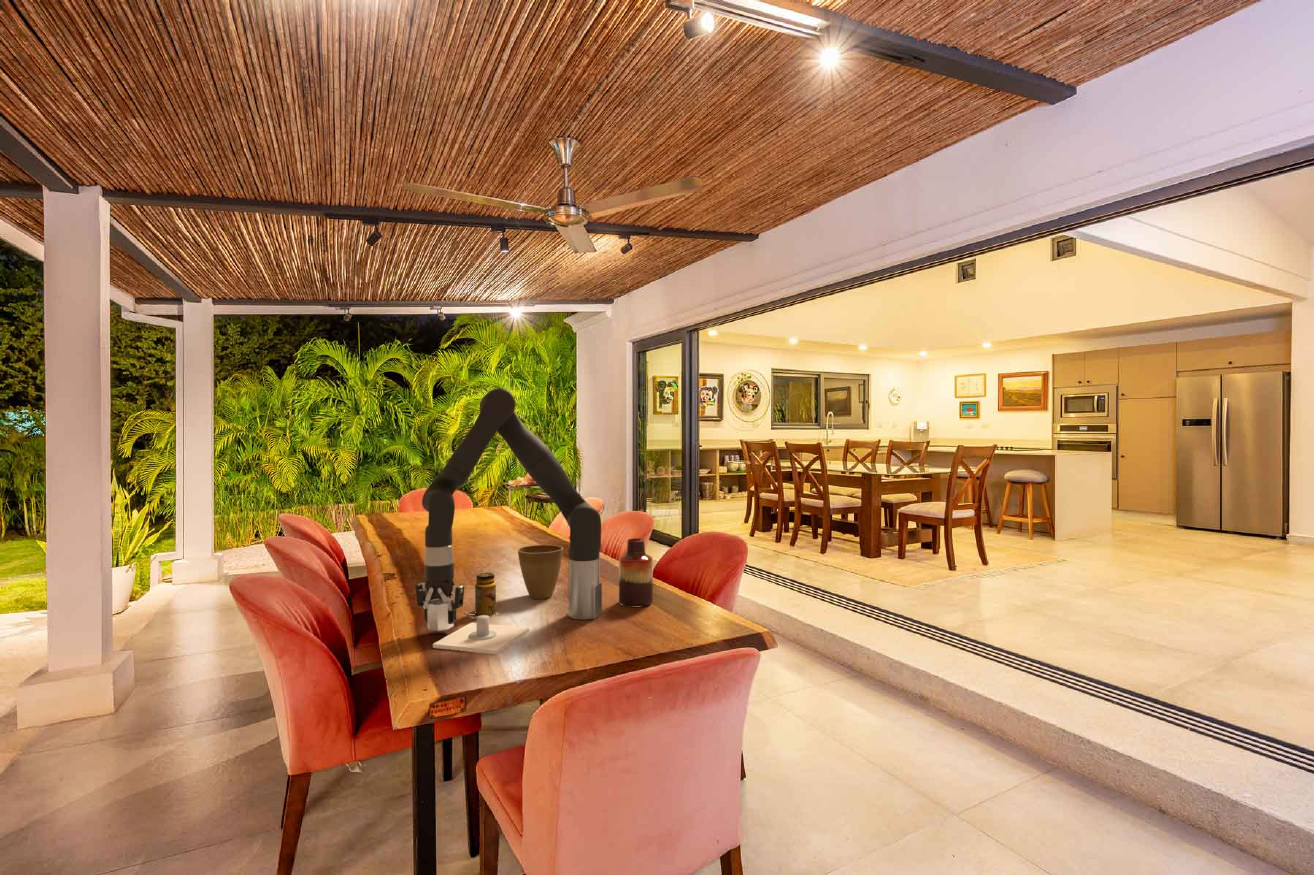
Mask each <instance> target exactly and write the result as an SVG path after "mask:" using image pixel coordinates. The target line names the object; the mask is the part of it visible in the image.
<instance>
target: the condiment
mask: <svg viewBox="0 0 1314 875" xmlns="http://www.w3.org/2000/svg"><path fill="white" fill-rule="evenodd" d="M475 578H476V580H475V581H476V584H475V585H474V587H475V588H474V590H475V591H474V594H475V597H474V599H475V600H474V603H475V605H474V606H475V607H474V610H473V611H465V612H464V613H465V615H467V614H468V615H469V614H475V615H469V616H468V615H467V616H468V617H469V618H470V617H473V618H471V620H474V619H475V620H476V619H477V618H476V617H477V616H481V615H487V616H489V617H492V616H491V615H494V614H500V613H499V612H497V594H496V593H497V589H496V588H497V583H496V582H495V580H496V579H495V573H491V572H482V573H478V574H477V575H476V577H475ZM475 612H476V613H475ZM496 612H497V613H496ZM495 616H496V615H494V616H493V617H495Z"/></svg>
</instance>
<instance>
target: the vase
mask: <svg viewBox="0 0 1314 875" xmlns="http://www.w3.org/2000/svg"><path fill="white" fill-rule="evenodd" d="M645 546H646V545H645V539H644V538H639V537H638V538H633V537H632V538H627V541H626V553H625V554H622V555H621V556H620V557H619V559H618V603H621V604H623V605H625V606H624V607H626V606H645V607H647V606H646V605H649V604H651V603H652V604H653V601H654V598H653V595H654V594H653V593H654V592H653V589H654V588H653V583H654V582H653V580H654V577H653V575H654V574H653V573H654V571H653V570H654V569H653V566H654V564H653V556H651V555H649V554H647V553H646V547H645ZM652 604H651V605H652ZM649 606H650V605H649Z"/></svg>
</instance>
